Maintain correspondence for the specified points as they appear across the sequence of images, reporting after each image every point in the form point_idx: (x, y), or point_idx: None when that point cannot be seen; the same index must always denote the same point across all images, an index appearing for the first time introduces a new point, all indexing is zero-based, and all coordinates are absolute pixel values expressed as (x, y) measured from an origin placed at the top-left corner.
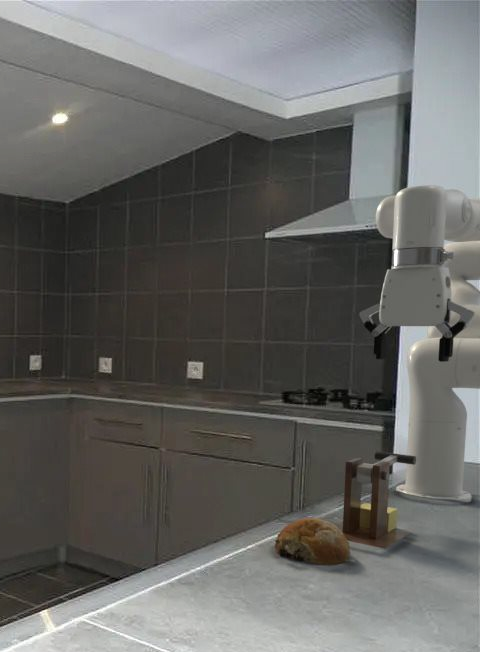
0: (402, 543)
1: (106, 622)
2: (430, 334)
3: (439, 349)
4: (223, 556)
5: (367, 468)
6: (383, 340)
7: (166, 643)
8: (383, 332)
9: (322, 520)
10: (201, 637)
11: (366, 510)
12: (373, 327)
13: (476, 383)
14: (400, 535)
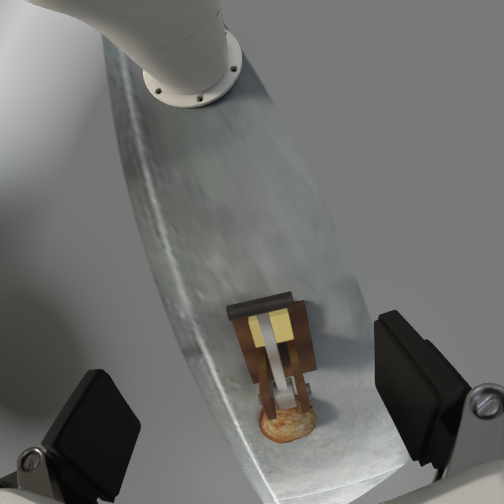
0: None
1: (285, 497)
2: None
3: (395, 421)
4: (245, 444)
5: (292, 407)
6: (102, 471)
7: (312, 491)
8: (63, 487)
9: (296, 436)
10: (318, 484)
11: None
12: None
13: None
14: (304, 324)
